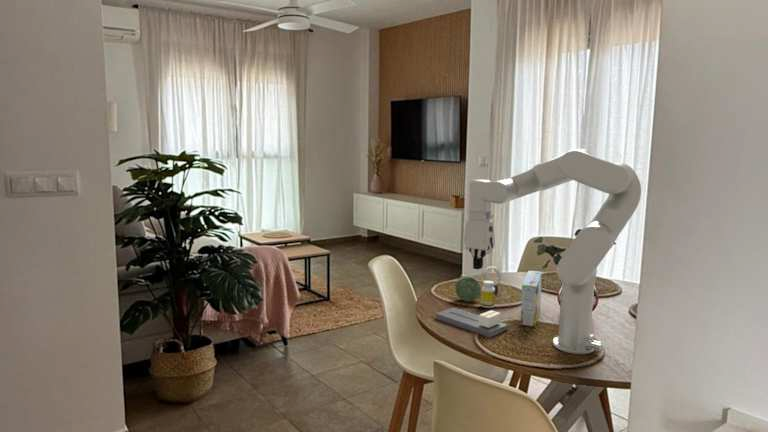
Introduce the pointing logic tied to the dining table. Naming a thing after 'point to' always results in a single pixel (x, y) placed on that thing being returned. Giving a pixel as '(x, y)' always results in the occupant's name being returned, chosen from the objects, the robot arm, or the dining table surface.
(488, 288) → the supplement bottle
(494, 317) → the fader knob
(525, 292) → the snack box
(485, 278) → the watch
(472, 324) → the grey slider track base
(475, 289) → the decorative artifact
